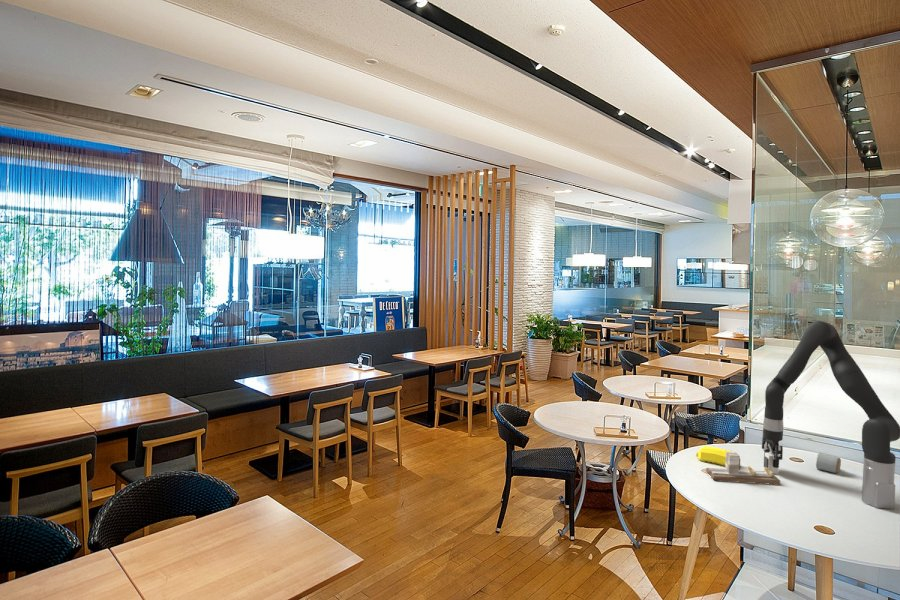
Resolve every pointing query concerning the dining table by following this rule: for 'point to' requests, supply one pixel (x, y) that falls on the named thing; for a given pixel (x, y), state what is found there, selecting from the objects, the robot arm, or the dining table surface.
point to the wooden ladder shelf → (741, 472)
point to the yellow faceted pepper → (712, 455)
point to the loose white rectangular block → (769, 463)
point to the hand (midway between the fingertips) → (771, 463)
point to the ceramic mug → (828, 462)
